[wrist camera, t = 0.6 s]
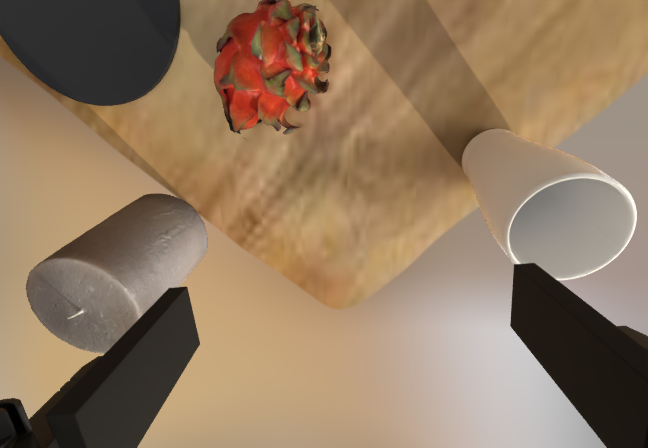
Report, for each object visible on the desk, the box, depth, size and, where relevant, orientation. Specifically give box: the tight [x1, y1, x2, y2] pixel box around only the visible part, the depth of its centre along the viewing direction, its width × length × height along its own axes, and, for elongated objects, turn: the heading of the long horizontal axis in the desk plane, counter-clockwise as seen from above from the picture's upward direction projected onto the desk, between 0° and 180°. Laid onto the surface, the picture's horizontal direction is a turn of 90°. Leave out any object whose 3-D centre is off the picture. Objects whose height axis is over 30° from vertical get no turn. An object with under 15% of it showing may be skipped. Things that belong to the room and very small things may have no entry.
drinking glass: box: [462, 129, 637, 280], centre depth 26 cm, size 7×7×15 cm
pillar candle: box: [26, 194, 207, 353], centre depth 35 cm, size 10×10×15 cm
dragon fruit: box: [214, 0, 331, 142], centre depth 29 cm, size 8×8×12 cm
